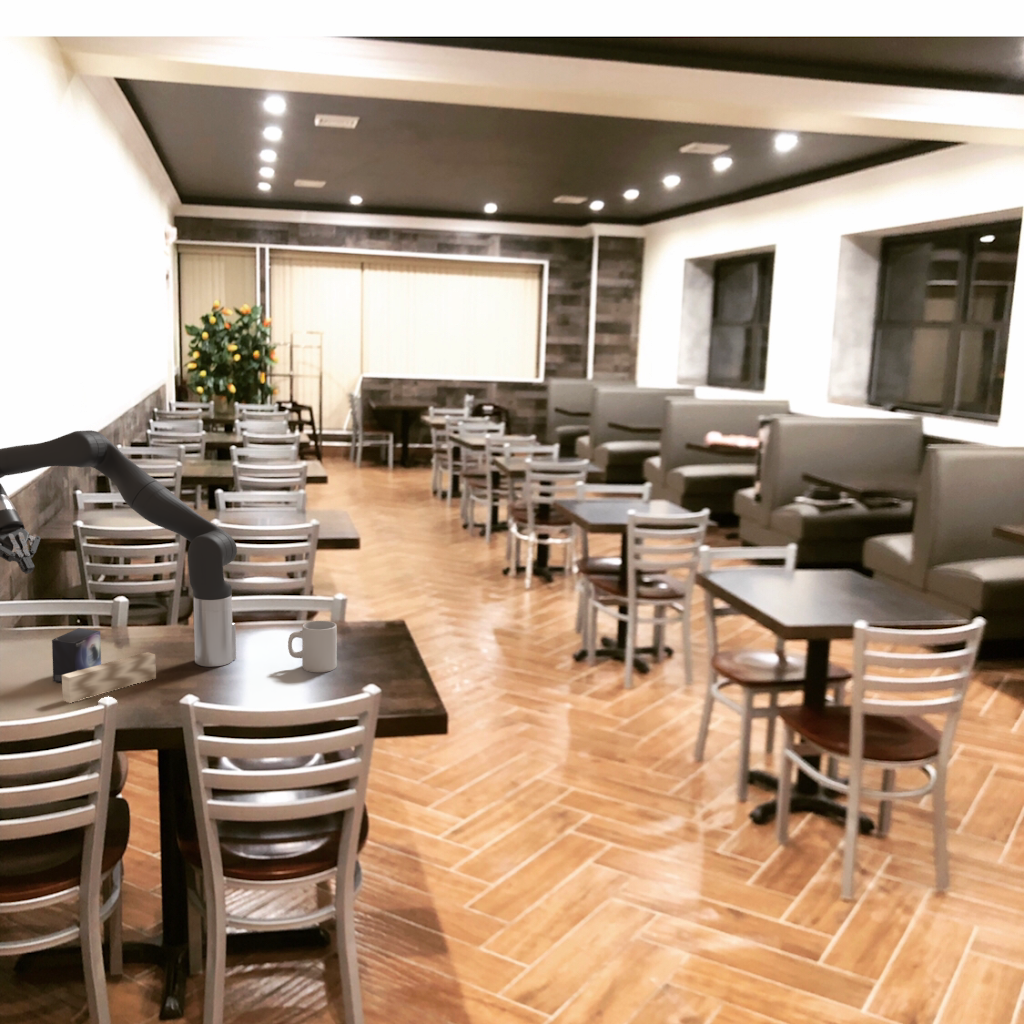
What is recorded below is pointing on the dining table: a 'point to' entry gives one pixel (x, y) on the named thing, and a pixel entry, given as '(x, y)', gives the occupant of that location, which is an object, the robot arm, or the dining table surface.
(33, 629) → the dining table surface
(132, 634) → the dining table surface
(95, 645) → the small box
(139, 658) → the maple board
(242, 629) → the dining table surface
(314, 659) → the mug
